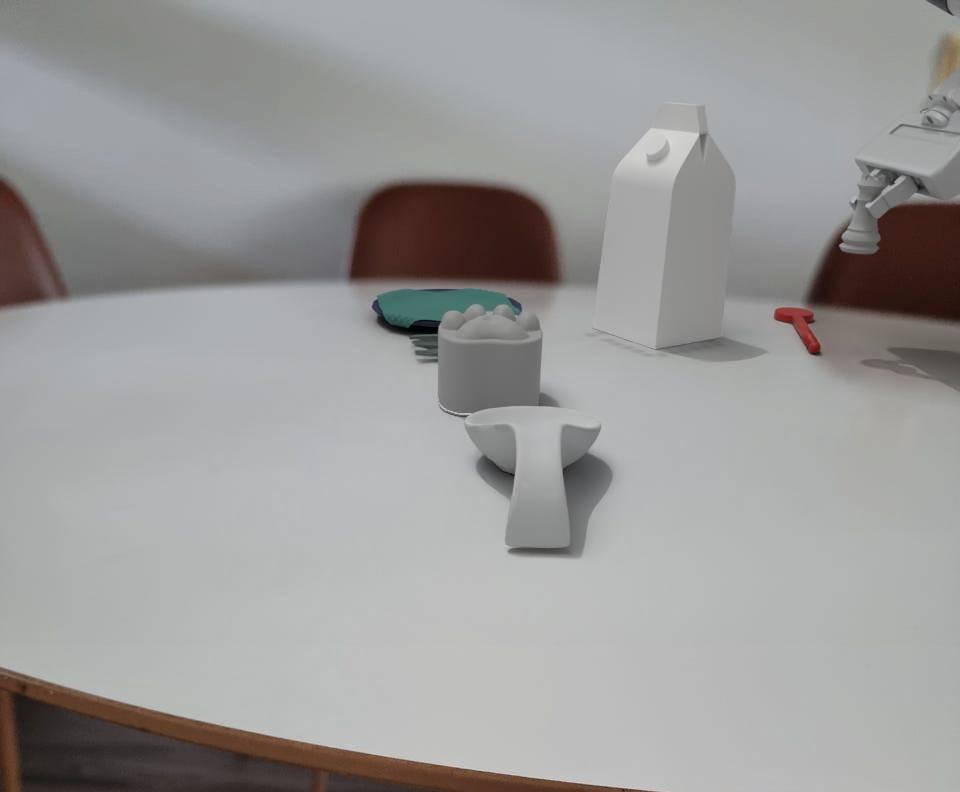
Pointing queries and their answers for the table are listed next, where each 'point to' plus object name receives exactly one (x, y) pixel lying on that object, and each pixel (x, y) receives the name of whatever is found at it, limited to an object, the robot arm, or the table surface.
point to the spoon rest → (534, 465)
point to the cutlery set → (434, 309)
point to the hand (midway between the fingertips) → (861, 210)
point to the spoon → (800, 324)
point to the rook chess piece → (864, 218)
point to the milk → (667, 235)
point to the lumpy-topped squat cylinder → (488, 359)
